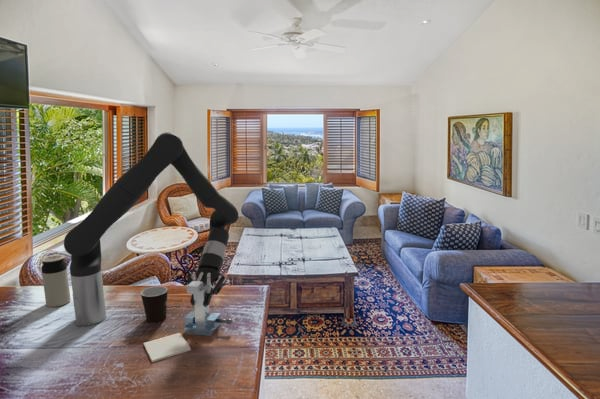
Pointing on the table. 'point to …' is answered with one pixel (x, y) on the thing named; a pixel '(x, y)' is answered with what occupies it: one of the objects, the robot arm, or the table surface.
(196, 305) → the brushed aluminum pillar
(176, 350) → the felt pad
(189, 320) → the vise
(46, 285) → the travel mug
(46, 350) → the table surface
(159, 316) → the coffee mug
